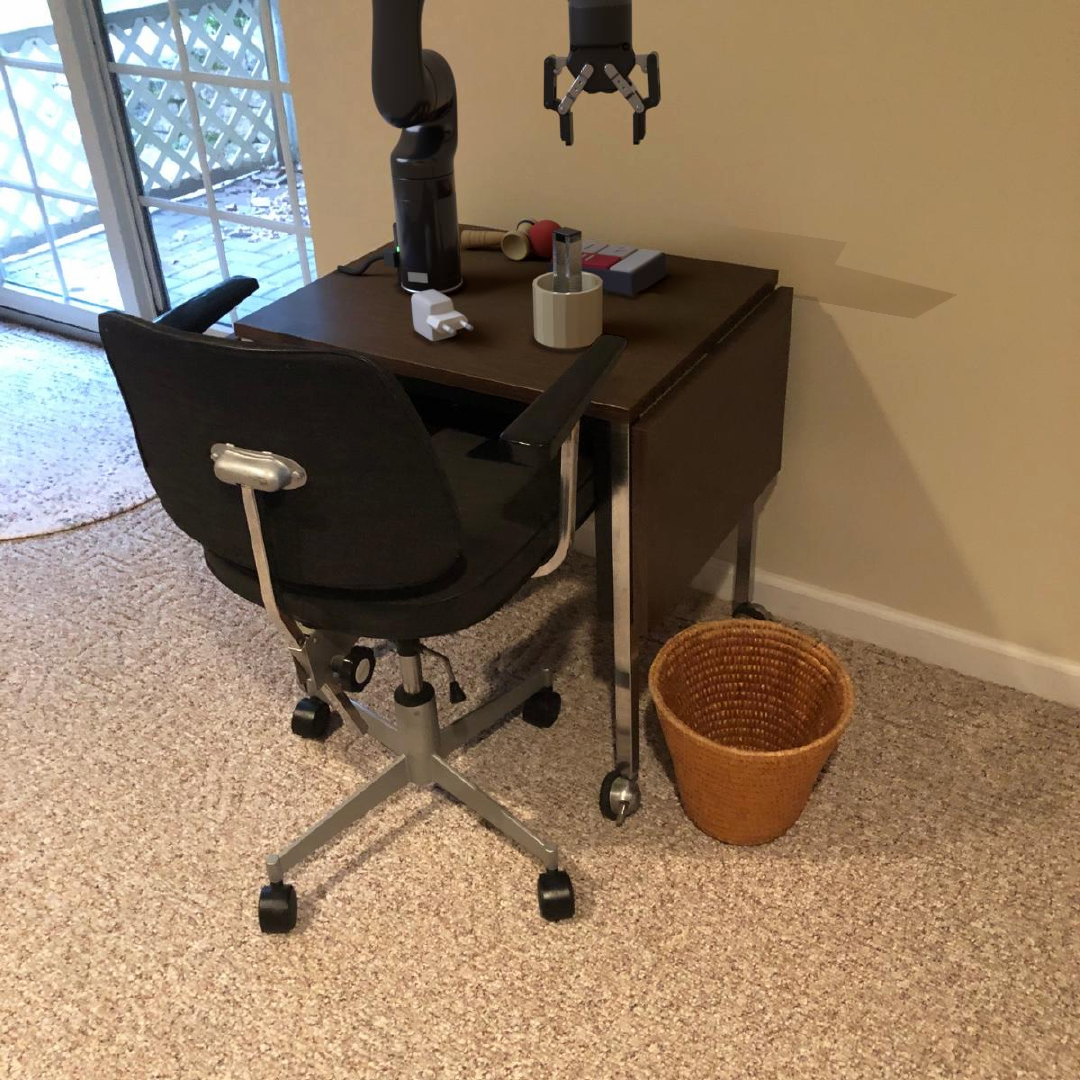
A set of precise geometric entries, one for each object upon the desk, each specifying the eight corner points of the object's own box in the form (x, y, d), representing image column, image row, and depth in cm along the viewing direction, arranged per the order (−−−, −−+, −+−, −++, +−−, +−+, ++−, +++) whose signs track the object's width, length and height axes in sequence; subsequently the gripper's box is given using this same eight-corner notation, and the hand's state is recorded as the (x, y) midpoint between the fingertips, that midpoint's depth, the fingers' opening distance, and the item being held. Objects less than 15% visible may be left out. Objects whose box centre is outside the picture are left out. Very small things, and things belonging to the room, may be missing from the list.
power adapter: (480, 350, 144) (478, 308, 140) (449, 359, 141) (446, 317, 138) (439, 325, 151) (436, 285, 148) (409, 333, 149) (405, 293, 146)
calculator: (581, 238, 171) (666, 247, 164) (583, 265, 173) (666, 275, 166) (545, 258, 163) (632, 268, 156) (547, 286, 165) (633, 297, 158)
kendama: (455, 264, 177) (555, 260, 170) (451, 224, 175) (551, 219, 168) (476, 258, 184) (573, 254, 176) (472, 220, 182) (570, 214, 174)
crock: (520, 340, 146) (518, 283, 142) (567, 320, 152) (567, 265, 147) (569, 358, 141) (568, 299, 136) (616, 337, 146) (617, 280, 142)
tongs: (552, 334, 146) (549, 230, 138) (566, 328, 148) (565, 225, 140) (570, 341, 144) (569, 236, 136) (584, 335, 146) (584, 230, 138)
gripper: (663, -5, 128) (662, 137, 136) (546, -1, 131) (552, 138, 139) (657, 1, 122) (656, 150, 130) (534, 6, 124) (541, 151, 133)
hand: (602, 144), depth 135 cm, fingers open, 8 cm apart
